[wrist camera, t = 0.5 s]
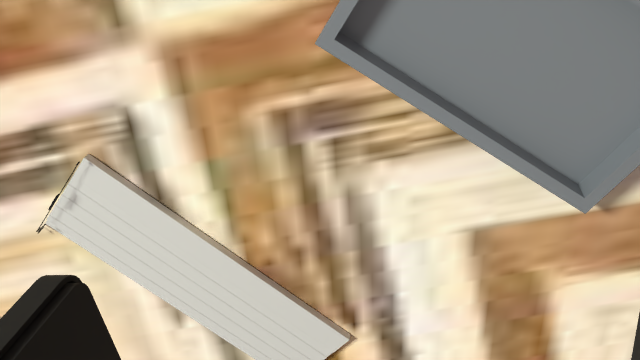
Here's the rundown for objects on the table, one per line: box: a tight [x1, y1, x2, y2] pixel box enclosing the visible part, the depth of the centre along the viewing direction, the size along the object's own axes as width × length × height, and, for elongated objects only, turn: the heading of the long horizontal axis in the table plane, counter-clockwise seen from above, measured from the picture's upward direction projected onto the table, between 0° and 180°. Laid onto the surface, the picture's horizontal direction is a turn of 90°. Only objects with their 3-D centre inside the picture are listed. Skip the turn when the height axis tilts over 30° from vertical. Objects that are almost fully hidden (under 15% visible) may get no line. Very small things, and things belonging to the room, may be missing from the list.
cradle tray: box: [315, 0, 640, 214], centre depth 37 cm, size 24×14×3 cm, turn 60°
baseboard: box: [36, 154, 350, 360], centre depth 55 cm, size 31×3×12 cm
